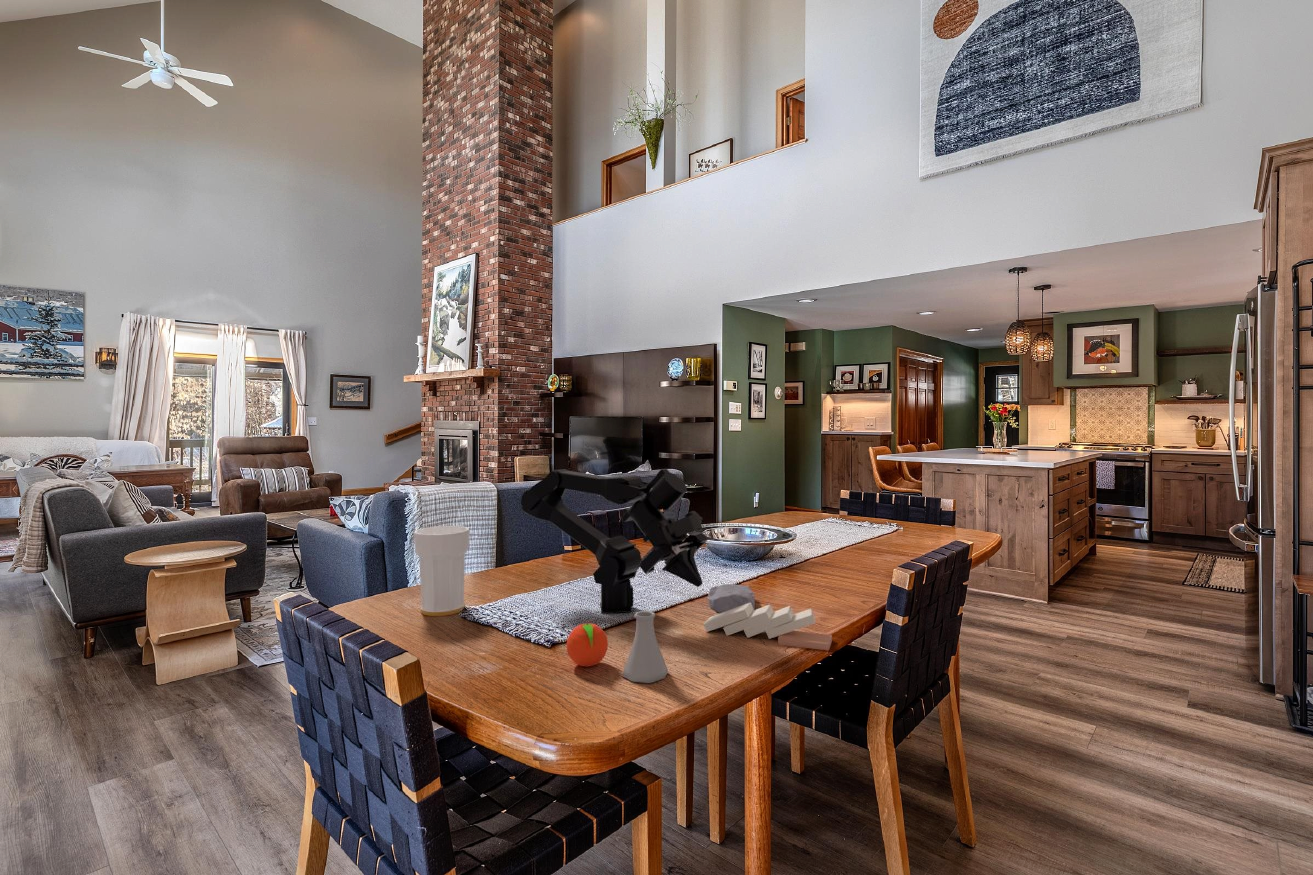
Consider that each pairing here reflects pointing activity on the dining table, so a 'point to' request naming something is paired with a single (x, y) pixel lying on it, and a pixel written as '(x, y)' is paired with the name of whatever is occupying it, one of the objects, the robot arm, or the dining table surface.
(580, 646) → the clementine
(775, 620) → the domino
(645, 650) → the flask
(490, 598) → the dining table surface
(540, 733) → the dining table surface
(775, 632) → the domino
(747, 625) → the domino
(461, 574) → the cup
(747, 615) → the domino
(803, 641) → the domino
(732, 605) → the stone block
